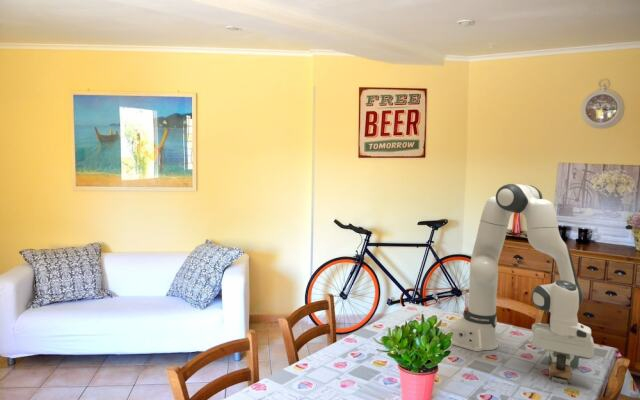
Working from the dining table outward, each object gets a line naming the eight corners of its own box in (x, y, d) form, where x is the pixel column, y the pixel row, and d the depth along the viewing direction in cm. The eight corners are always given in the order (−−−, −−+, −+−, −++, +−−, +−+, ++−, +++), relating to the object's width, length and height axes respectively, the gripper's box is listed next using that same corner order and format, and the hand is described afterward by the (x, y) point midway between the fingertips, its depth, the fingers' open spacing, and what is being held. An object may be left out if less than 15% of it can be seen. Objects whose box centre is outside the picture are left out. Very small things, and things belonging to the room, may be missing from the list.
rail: (551, 381, 173) (551, 377, 173) (555, 365, 186) (555, 361, 185) (566, 384, 170) (567, 380, 170) (570, 368, 183) (570, 364, 183)
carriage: (548, 378, 174) (550, 355, 173) (550, 371, 179) (551, 350, 178) (570, 383, 171) (571, 360, 170) (571, 376, 176) (573, 354, 175)
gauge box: (548, 362, 188) (549, 348, 187) (550, 356, 194) (551, 341, 193) (577, 368, 183) (578, 353, 182) (578, 362, 189) (579, 347, 188)
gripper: (530, 323, 176) (528, 360, 177) (595, 335, 165) (592, 373, 167) (533, 318, 181) (531, 354, 182) (595, 329, 171) (593, 366, 172)
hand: (561, 363), depth 174 cm, fingers closed on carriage, 3 cm apart
